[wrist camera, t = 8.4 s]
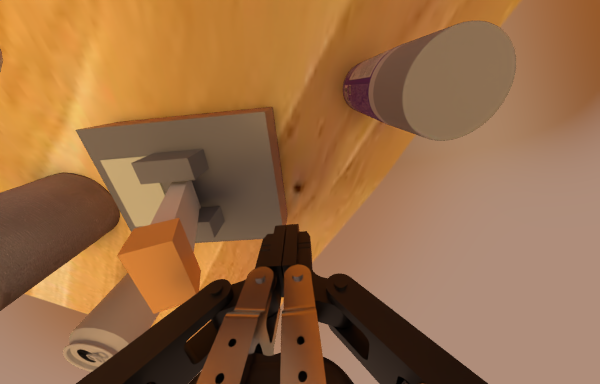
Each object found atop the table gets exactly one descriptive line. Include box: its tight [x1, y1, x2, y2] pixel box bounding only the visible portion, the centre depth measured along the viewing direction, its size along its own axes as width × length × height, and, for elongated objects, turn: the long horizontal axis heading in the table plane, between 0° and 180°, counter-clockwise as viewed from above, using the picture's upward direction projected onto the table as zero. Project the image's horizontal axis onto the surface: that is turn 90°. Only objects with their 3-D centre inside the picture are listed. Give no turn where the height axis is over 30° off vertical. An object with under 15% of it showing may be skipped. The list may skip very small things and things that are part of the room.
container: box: [343, 21, 516, 141], centre depth 15 cm, size 5×5×15 cm
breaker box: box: [76, 107, 287, 243], centre depth 23 cm, size 14×18×8 cm
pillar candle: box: [0, 173, 120, 311], centre depth 23 cm, size 10×10×15 cm
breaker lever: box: [117, 180, 201, 314], centre depth 17 cm, size 4×2×12 cm, turn 5°
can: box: [63, 273, 160, 372], centre depth 30 cm, size 8×8×12 cm
